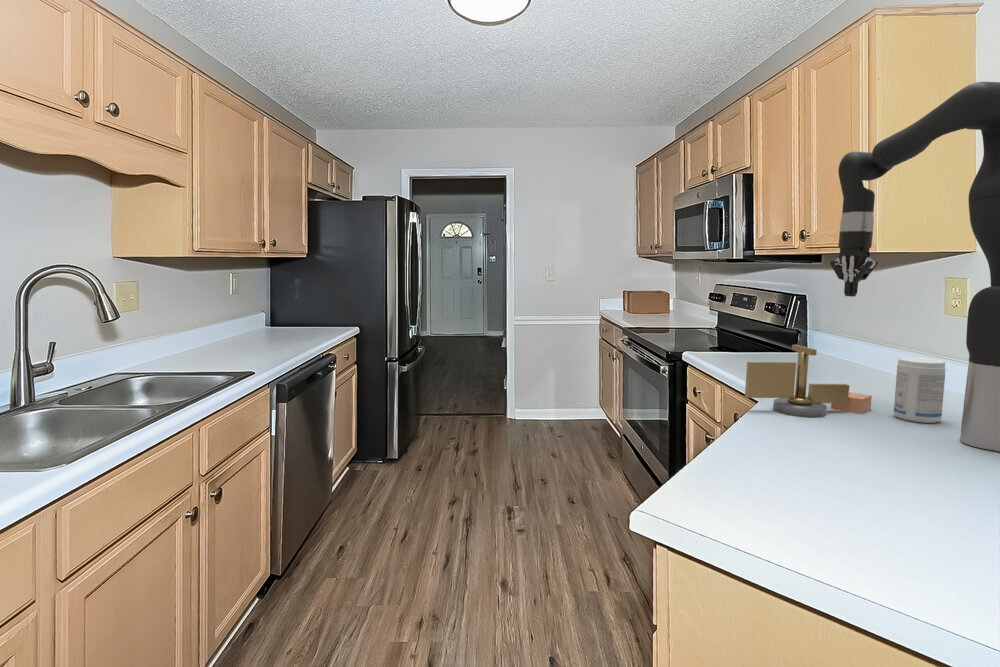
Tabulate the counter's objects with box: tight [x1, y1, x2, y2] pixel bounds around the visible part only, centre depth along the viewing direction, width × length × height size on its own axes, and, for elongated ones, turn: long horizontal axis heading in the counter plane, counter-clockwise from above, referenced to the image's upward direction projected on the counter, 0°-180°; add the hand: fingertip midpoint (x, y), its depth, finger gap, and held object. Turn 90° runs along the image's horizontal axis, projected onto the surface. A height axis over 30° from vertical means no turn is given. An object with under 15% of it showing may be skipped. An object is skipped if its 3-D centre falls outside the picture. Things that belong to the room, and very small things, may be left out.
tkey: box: [744, 344, 850, 405], centre depth 146 cm, size 26×9×14 cm, turn 92°
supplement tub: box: [893, 356, 946, 424], centre depth 141 cm, size 10×10×15 cm
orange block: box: [830, 391, 873, 415], centre depth 150 cm, size 7×7×4 cm
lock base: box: [772, 398, 827, 418], centre depth 147 cm, size 12×12×2 cm
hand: (850, 296), depth 154 cm, fingers closed
